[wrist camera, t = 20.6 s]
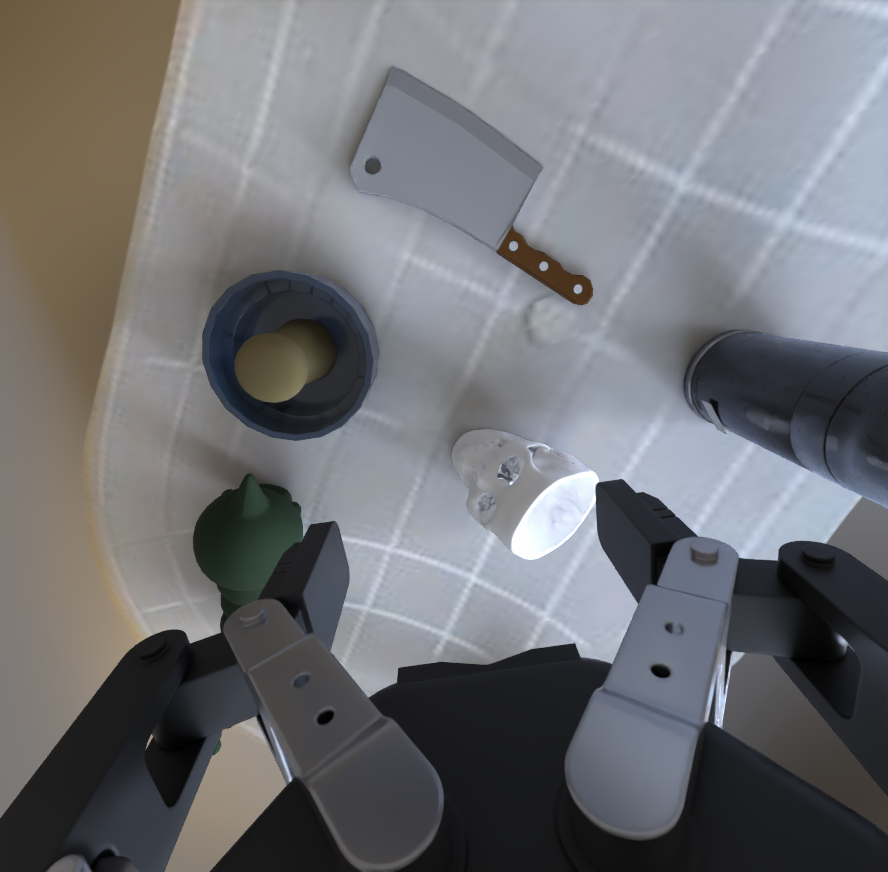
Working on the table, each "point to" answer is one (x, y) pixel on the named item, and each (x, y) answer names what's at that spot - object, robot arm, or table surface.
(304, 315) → the bowl
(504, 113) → the table surface
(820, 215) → the table surface
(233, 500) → the toy figurine
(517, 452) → the skull bowl
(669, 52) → the table surface
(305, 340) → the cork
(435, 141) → the kitchen cleaver
